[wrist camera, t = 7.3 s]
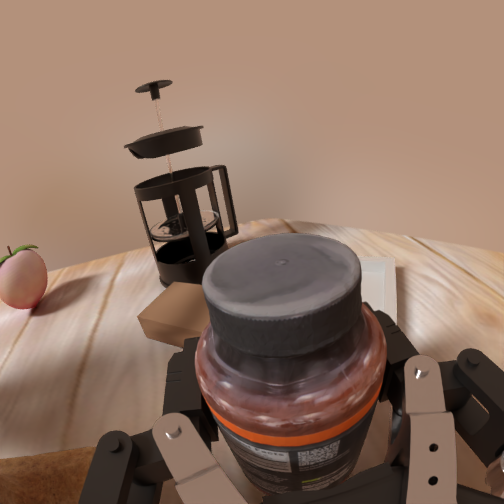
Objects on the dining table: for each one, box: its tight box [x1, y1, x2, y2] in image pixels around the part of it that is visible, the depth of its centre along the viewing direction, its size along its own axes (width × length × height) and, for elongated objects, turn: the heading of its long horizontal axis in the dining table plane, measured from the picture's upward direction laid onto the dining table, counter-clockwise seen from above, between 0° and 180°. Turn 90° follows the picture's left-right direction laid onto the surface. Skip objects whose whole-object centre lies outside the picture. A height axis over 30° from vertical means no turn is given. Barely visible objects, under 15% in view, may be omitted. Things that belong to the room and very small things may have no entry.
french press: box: [124, 80, 238, 288], centre depth 31 cm, size 12×9×23 cm
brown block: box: [137, 282, 210, 348], centre depth 25 cm, size 9×6×2 cm, turn 67°
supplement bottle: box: [195, 233, 387, 496], centre depth 10 cm, size 6×6×11 cm
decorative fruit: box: [0, 244, 47, 309], centre depth 31 cm, size 9×8×10 cm
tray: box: [357, 256, 397, 325], centre depth 25 cm, size 12×12×2 cm
